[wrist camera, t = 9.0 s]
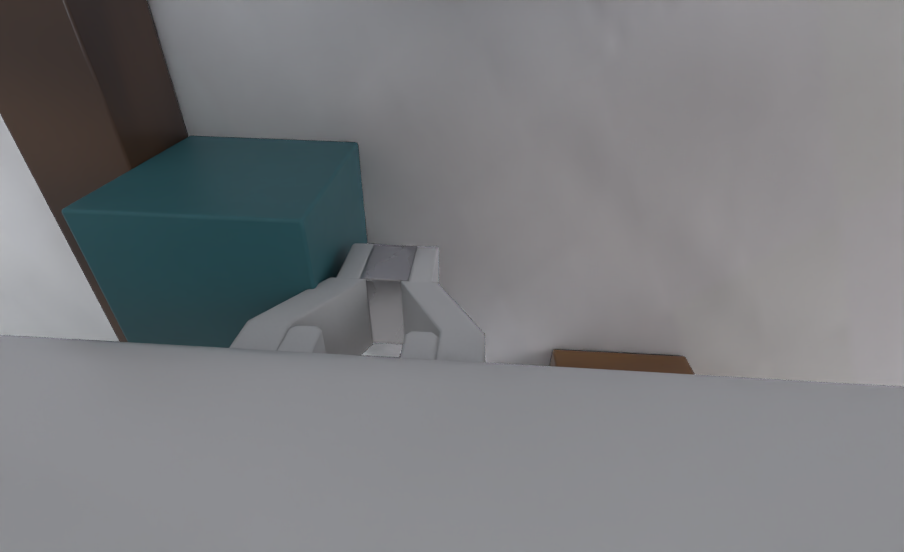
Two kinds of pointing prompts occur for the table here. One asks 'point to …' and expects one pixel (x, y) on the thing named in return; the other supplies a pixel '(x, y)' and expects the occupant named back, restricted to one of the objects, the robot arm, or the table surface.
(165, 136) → the straightedge
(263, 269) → the teal block
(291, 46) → the table surface
